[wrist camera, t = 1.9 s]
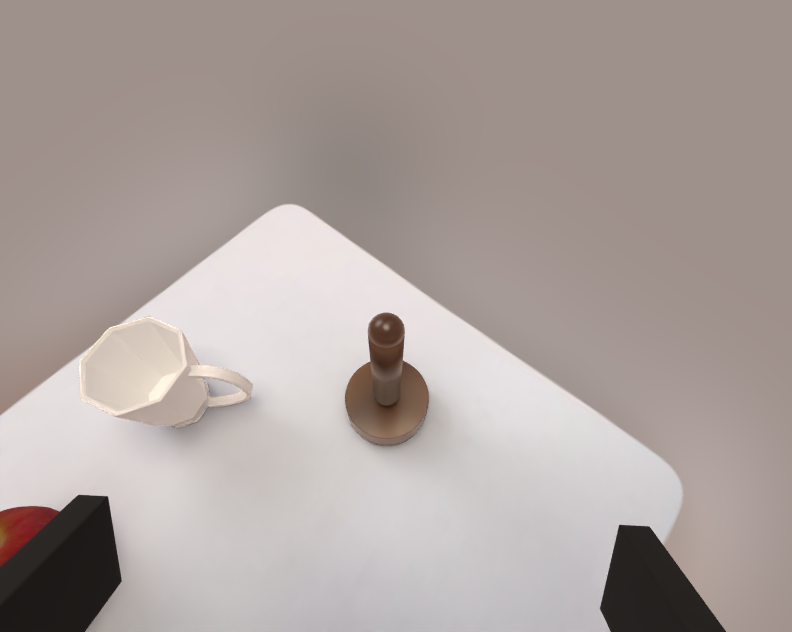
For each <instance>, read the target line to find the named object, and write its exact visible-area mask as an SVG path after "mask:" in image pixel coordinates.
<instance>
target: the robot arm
mask: <svg viewBox="0 0 792 632" xmlns="http://www.w3.org/2000/svg"><path fill="white" fill-rule="evenodd" d="M121 581H122V580H121V574H120V568H119V562H118V556H117V550H116V543H115V537H114V531H113V525H112V519H111V513H110V506H109V500H108V497H107V496H89V495H78V496H77V497H76V498H75V499H73V500H72V501H71V502H70V503H69V504H68V505H67V506H66V507H65V508H64V509H63V510H61V511H60V512H59V513H58V514H57V515H56V516H55V517H54V518H53V519H52V520H51V521H50V522H48V523H47V524H46V525H45V526H44V527H43V528H42V529H41V530H40V531H39V532H38V533H37V534H35V535H34V536H33V537H32V538H31V539H30V540H29V541H28V542H27V543H26V544H25V545H24V546H22V547H21V548H20V549H19V550H18V551H17V552H16V553H15V554H14V555H13V556H12V557H11V558H9V559H8V560H7V561H6V562H5V563H4V564H3V565H2V566H1V567H0V632H85V631H86V629H87V628H88V626H89V625H90V624H91V622H92V621H93V620H94V618H95V617H96V616H97V614H98V613H99V611H100V610H101V609H102V607H103V606H104V605H105V603H106V602H107V601H108V599H109V598H110V596H111V595H112V594H113V592H114V591H115V590H116V588H117V587H118V586H119V584H120V583H121ZM600 609H601V612H602V614H603V616H604V618H605V620H606V622H607V624H608V627H609V629H610V631H611V632H726V631H725V630H724V628H723V627H722V625H721V624H720V623H719V622H718V620H717V619H716V617H715V616H714V614H713V613H712V612H711V610H710V609H709V608H708V606H707V605H706V604H705V602H704V601H703V599H702V598H701V597H700V595H699V594H698V593H697V591H696V590H695V589H694V587H693V586H692V584H691V583H690V582H689V580H688V579H687V578H686V576H685V575H684V573H683V572H682V571H681V570H680V568H679V566H678V565H677V564H676V562H675V561H674V560H673V558H672V557H671V556H670V554H669V553H668V551H667V550H666V549H665V547H664V546H663V545H662V543H661V542H660V540H659V539H658V538H657V536H656V535H655V534H654V532H653V531H652V529H651V528H650V527H648V526H630V525H619V528H618V533H617V537H616V541H615V546H614V550H613V554H612V559H611V563H610V568H609V572H608V576H607V581H606V585H605V589H604V594H603V598H602V602H601V607H600Z"/></svg>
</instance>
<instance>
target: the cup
mask: <svg viewBox="0 0 792 632" xmlns="http://www.w3.org/2000/svg"><path fill="white" fill-rule="evenodd" d="M79 369H80V399H82V400H83V401H85V402H87V403H89V404H91V405H93V406H95V407H97V408H99V409H101V410H103V411H105V412H107V413H109V414H111V415H113V416H114V417H119V418H123V419H127V420H133V421H137V422H142V423H146V424H150V425H154V426H172V427H174V428H176V429H177V428H180V427H183V426H186V425H189V424H192V423H195V422H198V421H199V420H200V418H201V417H202V415H203V414H204V412H205V411H206V409H207V408H208V407H222V406H229V405H233V404H237V403H241V402H245V401H246V400H248V399H250V398H251V393H252V383H251V382H250V381H249V380H248V379H246V378H245V377H243V376H242V375H240V374H238V373H236V372H234V371H231V370H228V369H225V368H221V367H215V366H205V365H200V364H199V362H198V360H197V359H196V357H195V355H194V353H193V351H192V350H191V348H190V346H189V343H188V341H187V339H186V338H185V336H184V334H183V332H182V330H180V329H177V328H175V327H173V326H171V325H168V324H166V323H164V322H162V321H160V320H157V319H155V318H153V317H151V316H148V317H145V318H141V319H138V320H135V321H131V322H128V323H124V324H121V325H117V326H114V327H111V328H108V329H107V330H106V332H105V333H104V334H103V335H102V336H101V337H100V339H99V340H98V341H97V342H96V343H95V344H94V345H93V346H92V348H91V349H90V350H89V351H88V352H87V353H86V354H85V356H84V357H83V358H82V359H81V360H80V361H79ZM204 378H212V379H218V380H222V381H225V382H228V383H231V384H233V385H235V386H237V387H238V388H240V389H242V390H243V391H242V392H238V393H235V394H231V395H227V396H220V397H210V393H209V387H208V384H207V383H206V382H204Z"/></svg>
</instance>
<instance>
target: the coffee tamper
mask: <svg viewBox="0 0 792 632" xmlns="http://www.w3.org/2000/svg"><path fill="white" fill-rule="evenodd" d="M404 334H405V329H404V324H403V322H402V321H401V319H400V318H399V317H398V316H396V315H394V314H392V313H381V314H378V315H377V316H375V317H374V318H373V319H372V320H371V322H370V324H369V327H368V339H369V350H370V360H371V361H370V362H368V363H366V364H365V365H363V366H362V367H360V368H359V369H358V370H357V371H356V372H355V373H354V375H353V376H352V377H351V379H350V381H349V383H348V385H347V389H346V394H345V403H346V408H347V412H348V415H349V419H350V422H351V424H352V426H353V427H354V429H355V430H356V432H357V433H358V434H359V435H360V436H361V437H363V438H364V439H366V440H367V441H369V442H371V443H374V444H377V445H384V446H390V445H397V444H400V443H403V442H405V441H407V440H408V439H410V438H411V437H412V436H414V435H415V434H416V433H417V431H418V430H419V429H420V427H421V426H422V424H423V422H424V419H425V416H426V412H427V408H428V402H429V395H428V389H427V385H426V383H425V381H424V379H423V377H422V376H421V374H420V373H419V372H418V371H417V370H416V369H415V368H414V367H413V366H411V365H410V364H408V363H406V362H404V361H403V349H404Z"/></svg>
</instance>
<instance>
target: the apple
mask: <svg viewBox="0 0 792 632" xmlns="http://www.w3.org/2000/svg"><path fill="white" fill-rule="evenodd" d="M58 513H59V511H56V510H54V509H51V508H48V507H39V506H28V507H16V508H11V509H7V510H3V511H1V512H0V567H1V566H2V565H3V564H4V563H5V562H6V561H7V560H8V559H9V558H11V557H12V556H13V555H14V554H15V553H16V552H17V551H18V550H19V549H20V548H21V547H22V546H24V545H25V544H26V543H27V542H28V541H29V540H30V539H31V538H32V537H33V536H34V535H35V534H37V533H38V532H39V531H40V530H41V529H42V528H43V527H44V526H45V525H46V524H47V523H48V522H50V521H51V520H52V519H53V518H54V517H55V516H56V515H57V514H58Z"/></svg>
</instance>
